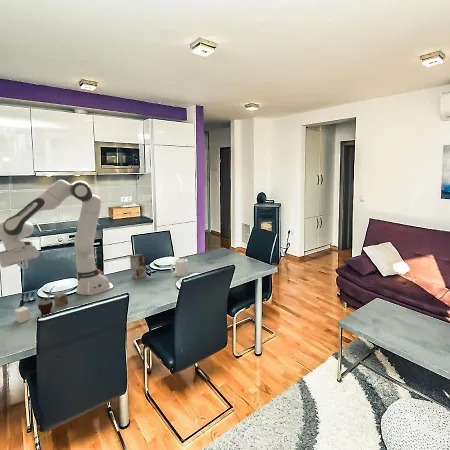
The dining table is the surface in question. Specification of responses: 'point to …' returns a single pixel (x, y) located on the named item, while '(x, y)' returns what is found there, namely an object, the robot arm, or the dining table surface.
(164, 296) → the dining table surface
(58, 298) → the walnut block
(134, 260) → the coffee box
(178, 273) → the mug
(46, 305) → the mate gourd
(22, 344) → the dining table surface
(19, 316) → the off-white block
